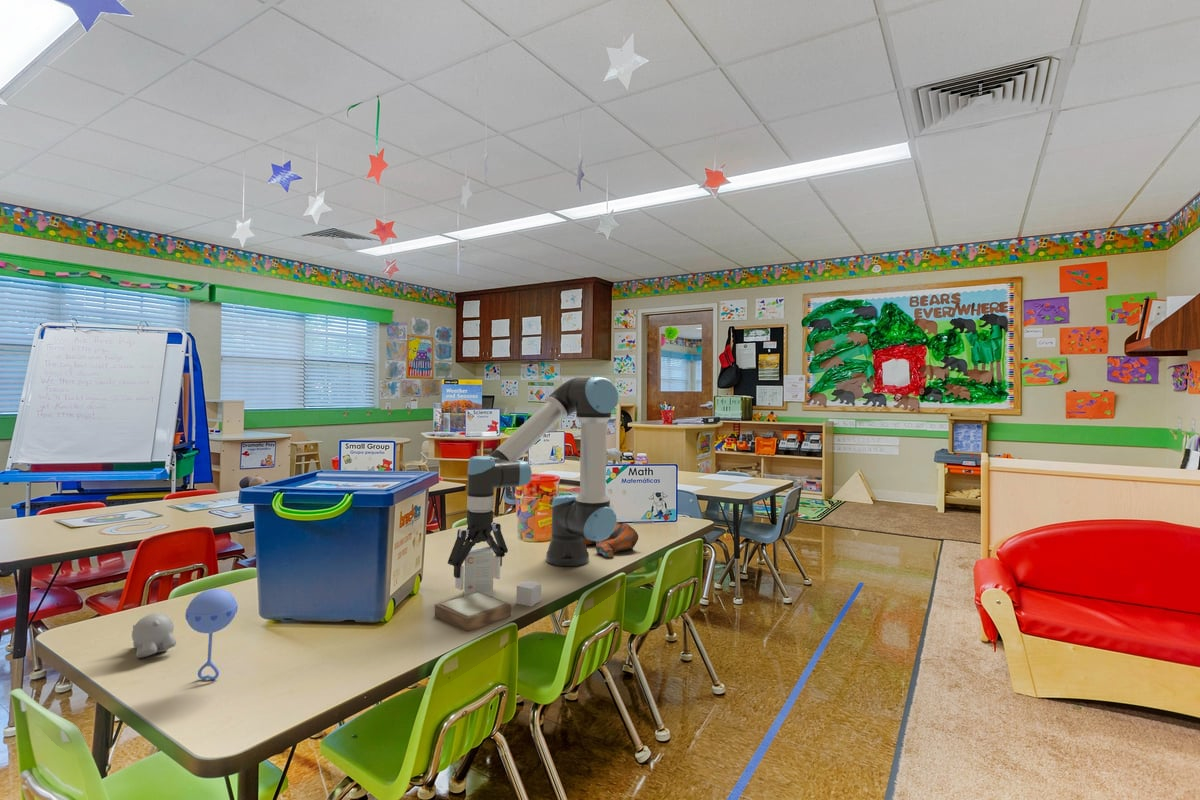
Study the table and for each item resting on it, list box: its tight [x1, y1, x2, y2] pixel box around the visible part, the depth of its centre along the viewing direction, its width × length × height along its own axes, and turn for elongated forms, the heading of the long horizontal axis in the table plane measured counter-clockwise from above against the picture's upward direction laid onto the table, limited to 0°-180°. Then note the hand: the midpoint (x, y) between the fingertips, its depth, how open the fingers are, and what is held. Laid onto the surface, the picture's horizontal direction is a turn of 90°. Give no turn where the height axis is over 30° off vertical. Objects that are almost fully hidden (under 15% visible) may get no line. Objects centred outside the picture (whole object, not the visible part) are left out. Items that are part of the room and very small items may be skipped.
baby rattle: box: [184, 588, 239, 681], centre depth 114 cm, size 9×9×18 cm
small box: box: [463, 546, 494, 597], centre depth 166 cm, size 8×6×13 cm
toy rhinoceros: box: [131, 612, 177, 659], centre depth 125 cm, size 7×12×8 cm, turn 56°
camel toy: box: [584, 521, 639, 559], centre depth 220 cm, size 25×13×17 cm
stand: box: [434, 592, 512, 632], centre depth 150 cm, size 14×14×3 cm
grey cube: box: [515, 580, 542, 607], centre depth 161 cm, size 5×5×5 cm
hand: (478, 583), depth 166 cm, fingers open, 12 cm apart
